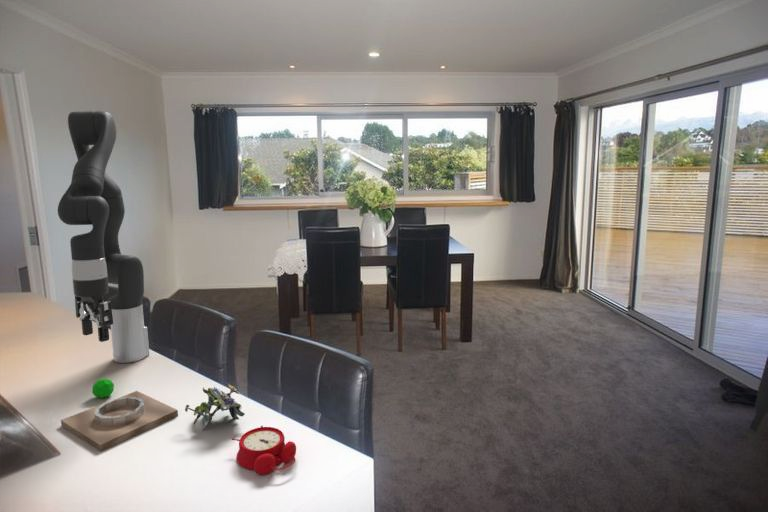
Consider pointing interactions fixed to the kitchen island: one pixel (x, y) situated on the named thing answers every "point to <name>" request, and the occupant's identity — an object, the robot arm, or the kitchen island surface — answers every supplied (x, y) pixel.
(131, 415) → the steel ring
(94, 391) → the polyhedron
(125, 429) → the walnut board
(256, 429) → the alarm clock
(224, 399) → the grey green plastic figure
